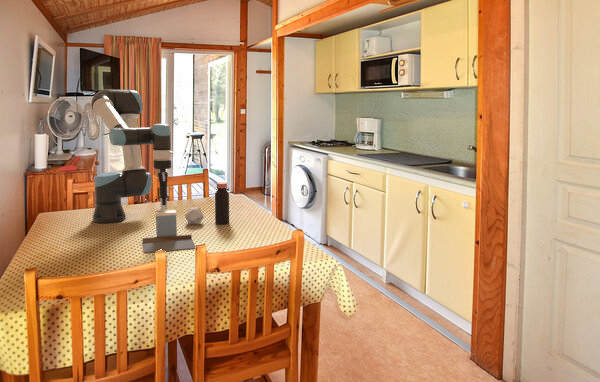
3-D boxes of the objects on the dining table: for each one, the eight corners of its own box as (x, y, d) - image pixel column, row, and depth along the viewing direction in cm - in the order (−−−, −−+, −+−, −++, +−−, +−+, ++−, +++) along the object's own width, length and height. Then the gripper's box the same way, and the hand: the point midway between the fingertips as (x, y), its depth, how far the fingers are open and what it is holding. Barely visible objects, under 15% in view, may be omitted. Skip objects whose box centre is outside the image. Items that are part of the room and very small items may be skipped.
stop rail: (142, 242, 195) (142, 237, 195) (191, 238, 202) (191, 234, 202) (142, 243, 194) (142, 238, 194) (191, 239, 201) (191, 234, 201)
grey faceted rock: (194, 228, 222) (205, 211, 224) (179, 218, 223) (191, 201, 224) (197, 229, 230) (208, 213, 232) (183, 220, 231) (194, 204, 232)
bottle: (222, 225, 225) (222, 184, 221) (212, 223, 228) (211, 183, 225) (232, 222, 231) (231, 182, 227) (221, 220, 234) (221, 181, 231)
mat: (142, 243, 194) (142, 242, 194) (191, 239, 201) (191, 238, 201) (144, 253, 181) (143, 252, 181) (196, 248, 188) (196, 247, 188)
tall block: (156, 237, 202) (155, 210, 200) (175, 236, 205) (175, 209, 203) (157, 241, 198) (156, 213, 196) (177, 239, 200) (176, 212, 198)
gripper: (172, 160, 201) (174, 214, 205) (169, 157, 213) (171, 208, 217) (154, 161, 198) (156, 215, 203) (152, 158, 210) (154, 209, 215)
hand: (164, 211), depth 210 cm, fingers closed
